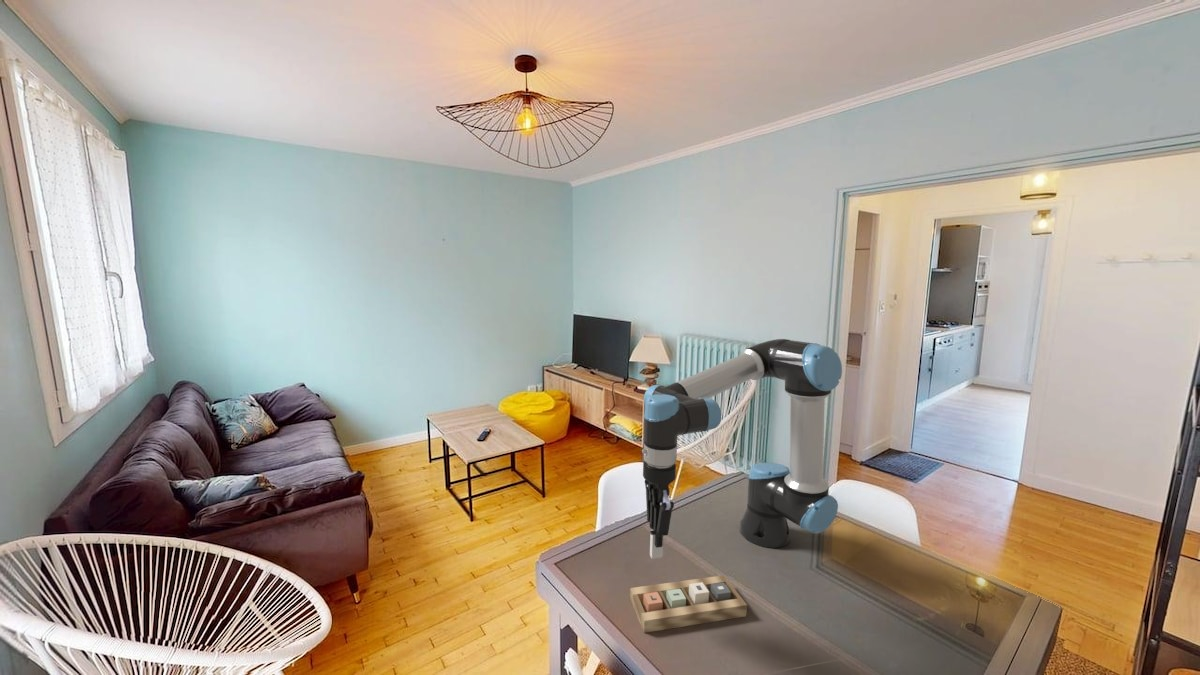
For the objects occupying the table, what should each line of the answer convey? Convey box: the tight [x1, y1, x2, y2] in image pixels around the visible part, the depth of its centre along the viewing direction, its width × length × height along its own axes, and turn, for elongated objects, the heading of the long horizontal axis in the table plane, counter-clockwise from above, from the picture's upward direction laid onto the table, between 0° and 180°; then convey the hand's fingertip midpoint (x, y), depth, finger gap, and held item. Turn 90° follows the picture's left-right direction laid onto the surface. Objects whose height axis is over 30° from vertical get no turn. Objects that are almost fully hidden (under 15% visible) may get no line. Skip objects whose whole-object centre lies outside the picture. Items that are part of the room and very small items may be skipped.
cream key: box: [689, 582, 709, 605], centre depth 109 cm, size 4×4×3 cm
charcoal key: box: [710, 582, 731, 602], centre depth 111 cm, size 4×4×3 cm
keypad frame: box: [629, 574, 748, 634], centre depth 109 cm, size 26×11×3 cm, turn 103°
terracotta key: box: [642, 592, 663, 612], centre depth 107 cm, size 4×4×3 cm
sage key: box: [666, 589, 686, 609], centre depth 108 cm, size 4×4×3 cm
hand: (656, 556), depth 105 cm, fingers closed
